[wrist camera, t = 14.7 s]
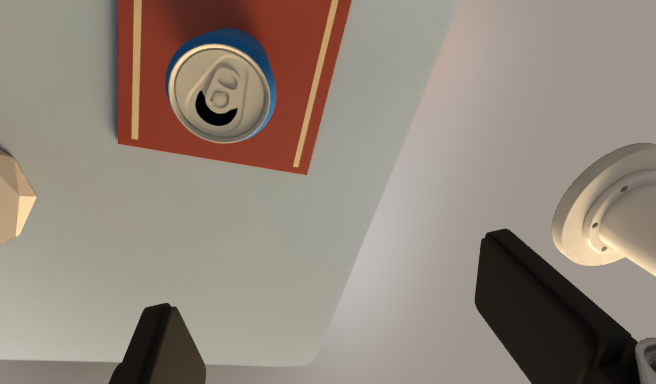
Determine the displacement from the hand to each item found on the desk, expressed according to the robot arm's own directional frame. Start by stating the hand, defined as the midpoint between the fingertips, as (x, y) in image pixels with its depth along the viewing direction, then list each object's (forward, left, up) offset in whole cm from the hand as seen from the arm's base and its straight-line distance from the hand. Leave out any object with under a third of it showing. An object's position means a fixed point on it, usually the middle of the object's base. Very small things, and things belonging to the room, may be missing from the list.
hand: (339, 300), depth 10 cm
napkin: (+4, -4, -26) cm, 26 cm away
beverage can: (+4, -4, -25) cm, 26 cm away
